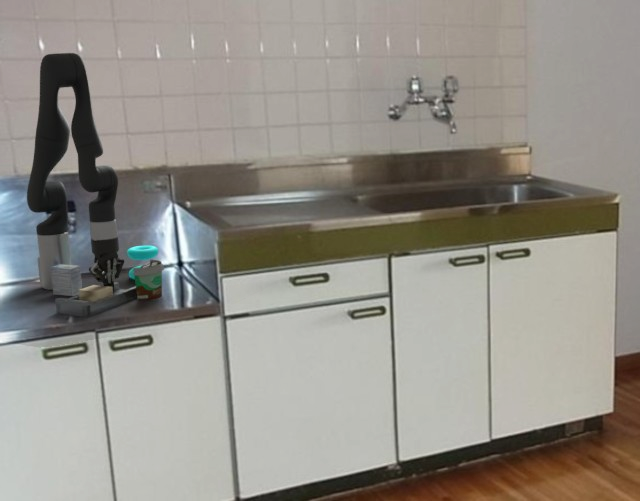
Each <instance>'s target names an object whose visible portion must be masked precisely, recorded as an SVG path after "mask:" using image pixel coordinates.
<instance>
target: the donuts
mask: <svg viewBox="0 0 640 501" xmlns="http://www.w3.org/2000/svg"><path fill="white" fill-rule="evenodd" d="M158 254H159V249H158V247H156V246H155V245H150V244H149V245H137V246H133V247H132V246H131V247H130V248H128V249H127V251H126V256H128V258H129V259H130V260H131V259H132V260H134V261H146V260H153V259H154V258H156V257H157V256H158ZM143 265H144V264H142V265H137V266H135V267H132V268H131V269H130V270H129V272H128V276H129V278H130V279H132V280H133V281H135V276H133V271H134V268H140V267H141V266H143Z"/></svg>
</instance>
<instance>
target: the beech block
mask: <svg viewBox="0 0 640 501" xmlns="http://www.w3.org/2000/svg"><path fill="white" fill-rule="evenodd" d="M110 295H113V288H112V287H109V286H104V285H96V284H92V285H90V286H87V287H84V288H83V287H82V289H80V290H79V299H80V300H82V301H90V303H91V302H94V301H97V300H99V299H102V298H105V297H108V296H110Z"/></svg>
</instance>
